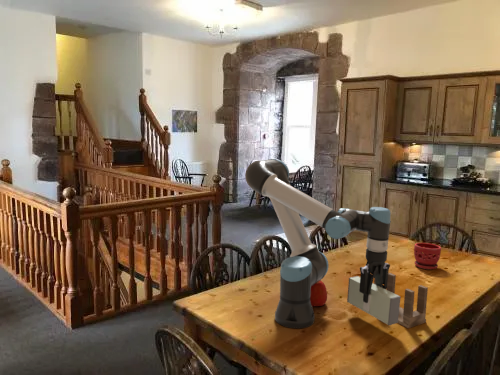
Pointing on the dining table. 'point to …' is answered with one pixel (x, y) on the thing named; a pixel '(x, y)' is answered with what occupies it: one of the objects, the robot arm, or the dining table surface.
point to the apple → (318, 294)
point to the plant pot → (427, 255)
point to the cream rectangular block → (375, 301)
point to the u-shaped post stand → (410, 304)
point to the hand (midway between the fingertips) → (371, 308)
